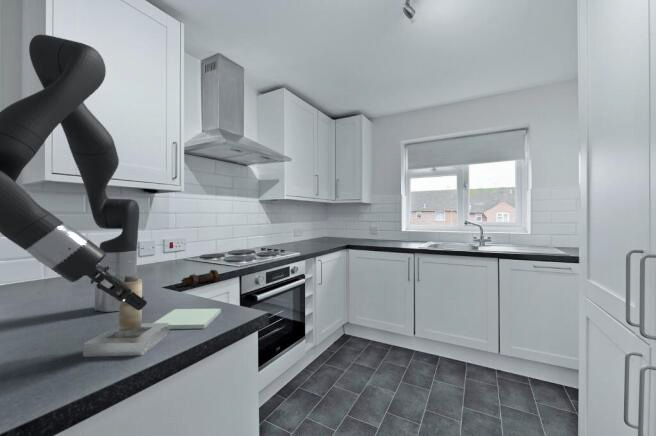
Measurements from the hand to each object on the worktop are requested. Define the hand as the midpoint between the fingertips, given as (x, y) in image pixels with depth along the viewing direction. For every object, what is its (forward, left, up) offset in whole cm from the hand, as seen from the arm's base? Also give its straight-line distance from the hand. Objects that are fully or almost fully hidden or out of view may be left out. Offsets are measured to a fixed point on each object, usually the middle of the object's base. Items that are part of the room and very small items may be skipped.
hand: (141, 303), depth 63 cm
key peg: (-2, -1, -5) cm, 5 cm away
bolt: (-10, +60, -9) cm, 61 cm away
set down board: (+5, +14, -8) cm, 17 cm away
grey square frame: (-1, -1, -8) cm, 8 cm away
